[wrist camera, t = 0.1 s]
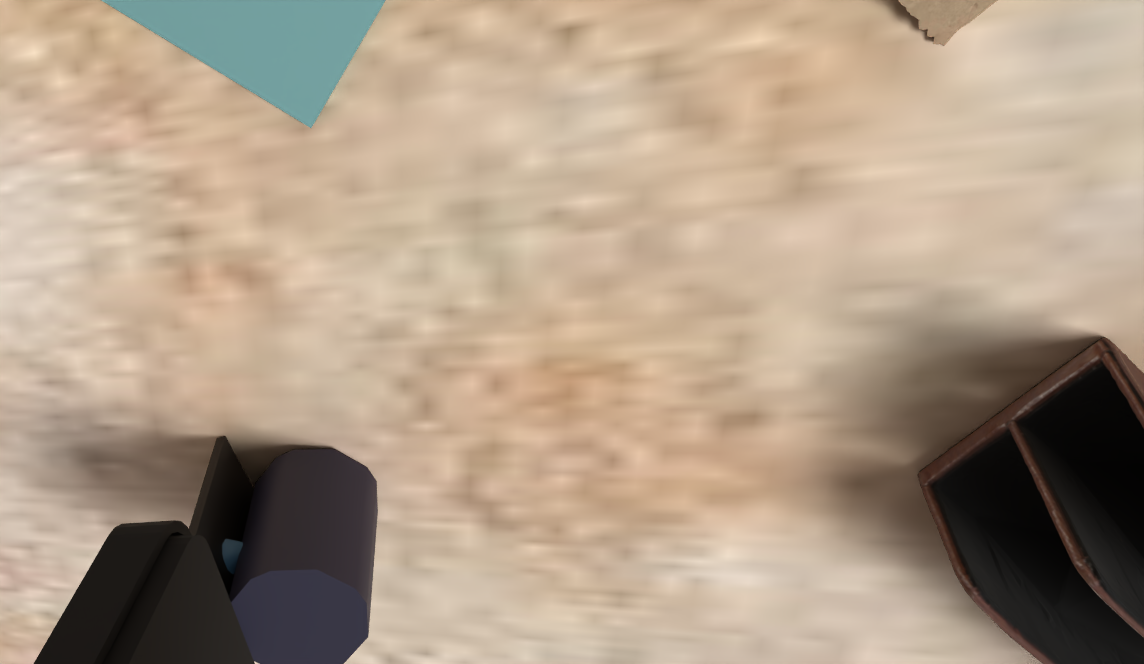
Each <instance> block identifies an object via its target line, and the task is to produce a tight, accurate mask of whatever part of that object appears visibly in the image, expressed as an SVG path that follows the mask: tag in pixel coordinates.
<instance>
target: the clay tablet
mask: <svg viewBox="0 0 1144 664" xmlns="http://www.w3.org/2000/svg"><path fill="white" fill-rule="evenodd" d="M996 1H998V0H899V2H900V3H901V4H902V5H903V6H904V7H906V9H907V11H908V12H909V13H910V15H912V16H914V17H915V18H917V19H918V20H919V22H918V23H919V29H922V30H926V29H928V32H927V36H929V37H934V43H933V44H942V45H943V46H944V45H945V44H946V43H947V42H948V41H949V39H950V38H951V37H952V36H953V35H954V34H955V33H956V32H957V31H958V30H959V29H960V28H961V27H963V26H965V25H966V24H968V23H969V22H971V21H972V20H973V19H975V18H976V17H977V16H978V15H980V14H981V13H982V12H983V11H985V10H986V9H987V8H988V7H989V6H991V5H992V4H993V3H995V2H996Z"/></svg>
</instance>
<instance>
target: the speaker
mask: <svg viewBox="0 0 1144 664" xmlns="http://www.w3.org/2000/svg"><path fill="white" fill-rule="evenodd" d="M377 513H378V509H377V482H376V480H375V478H374V477H373V475H372V474H371V472H370V471H369V470H368V468H367V467H366V466H364V465H362V464H360V463H358V462H357V461H355V460H353V459H351V458H349V457H348V456H346V455H344V454H342V453H340V452H339V451H337V450H335V449H302V450H292V451H290V452H287V453H285V454H283V455H281V456H278V457H276V458H275V460H274V461H273V462H272V463H271V465H270V466H269V467H268V468H267V470H266V471H265V472H264V473H263V475H262V476H261V477H260V478H259V480H258V481H257V482H256V483H255V487H254V488H253V487H252V485H251V483H250V481H249V479H248V477H247V475H246V474H245V472H244V470H243V468H242V466H241V464H240V463H239V461H238V459H237V457H236V455H235V453H234V451H233V450H232V448H231V446H230V444H229V442H228V440H227V438H226V437H225V436H223V437H220V438H217V439H216V443H215V446H214V449H213V452H212V456H211V459H210V462H209V465H208V469H207V472H206V475H205V478H204V482H203V485H202V488H201V491H200V495H199V498H198V501H197V504H196V507H195V511H194V514H193V517H192V520H191V524H190V527H189V531H190V533H191V535H202V536H203V537H204V538H205V539H206V541H207V543H208V545H209V547H210V550H211V552H212V555H213V557H214V560H215V563H216V565H217V568H218V570H219V573H220V575H221V578H222V581H223V583H224V586H225V588H226V591H227V594H228V596H229V599H230V601H231V604H232V606H233V609H234V612H235V614H236V617H237V619H238V622H239V624H240V627H241V630H242V632H243V635H244V637H245V640H246V642H247V645H248V648H249V650H250V653H251V655H252V658H253V660H254V661H255V662H257V663H260V664H344V663H345V662H346V661H347V659H348V658H349V657H350V656H351V655H352V654H353V653H354V652H355V651H356V650H357V648H358V647H359V646H360V645H361V644H362V643H363V642H364V641H365V640H366V639H367V638H368V634H369V620H370V607H371V594H372V580H373V567H374V554H375V540H376V527H377Z"/></svg>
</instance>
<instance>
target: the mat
mask: <svg viewBox="0 0 1144 664" xmlns="http://www.w3.org/2000/svg"><path fill="white" fill-rule="evenodd" d="M102 1H103V2H105V3H107V4H108V5H110V6H112V7H113V8H115V9H116V10H118V11H120V12H121V13H123V14H125V15H126V16H128V17H130V18H131V19H133V20H135V21H136V22H138V23H139V24H141V25H143V26H144V27H146V28H148V29H149V30H151V31H153V32H154V33H156V34H157V35H159V36H161V37H162V38H164V39H166V40H167V41H169V42H171V43H172V44H174V45H176V46H177V47H179V48H180V49H182V50H184V51H185V52H187V53H189V54H190V55H192V56H194V57H195V58H197V59H199V60H200V61H202V62H203V63H205V64H207V65H208V66H210V67H212V68H213V69H215V70H217V71H218V72H220V73H221V74H223V75H225V76H226V77H228V78H230V79H231V80H233V81H235V82H236V83H238V84H240V85H241V86H243V87H244V88H246V89H248V90H249V91H251V92H253V93H254V94H256V95H258V96H259V97H261V98H263V99H264V100H266V101H267V102H269V103H271V104H272V105H274V106H276V107H277V108H279V109H281V110H282V111H284V112H285V113H287V114H289V115H290V116H292V117H294V118H295V119H297V120H299V121H300V122H302V123H304V124H305V125H307V126H308V127H310V128H311V127H312V126H313V124H314V123H315V121H316V119H317V117H318V116H319V114H320V112H321V111H322V109H323V107H324V105H325V104H326V102H327V100H328V99H329V97H330V95H331V93H332V92H333V90H334V88H335V86H336V85H337V83H338V81H339V80H340V78H341V76H342V74H343V73H344V71H345V69H346V68H347V66H348V64H349V62H350V61H351V59H352V57H353V55H354V54H355V52H356V50H357V49H358V47H359V45H360V43H361V42H362V40H363V38H364V37H365V35H366V33H367V31H368V30H369V28H370V26H371V25H372V23H373V21H374V19H375V18H376V16H377V14H378V12H379V11H380V9H381V7H382V6H383V4H384V2H385V0H102Z"/></svg>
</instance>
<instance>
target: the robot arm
mask: <svg viewBox="0 0 1144 664" xmlns="http://www.w3.org/2000/svg"><path fill="white" fill-rule="evenodd" d="M34 664H255V663H254V660H253V658H252V655H251V653H250V650H249V648H248V645H247V642H246V640H245V637H244V635H243V632H242V630H241V627H240V624H239V622H238V619H237V617H236V614H235V612H234V609H233V606H232V604H231V601H230V599H229V596H228V594H227V591H226V588H225V586H224V583H223V581H222V578H221V575H220V573H219V570H218V568H217V565H216V563H215V560H214V557H213V555H212V552H211V550H210V547H209V545H208V543H207V541H206V539H205V538H204V537H203V536H202V535H191V533H190V531H189V529H188V527H187V526H186V525H185V524H184V523H182V522H181V521H160V522H144V523H127V524H121V525H119V526H117V527H115V528H114V529H113V531H112V532H111V533H110V534H109V536H108V537H107V539H106V541H105V542H104V544H103V546H102V548H101V549H100V551H99V553H98V554H97V556H96V558H95V560H94V561H93V563H92V565H91V566H90V568H89V570H88V572H87V573H86V575H85V577H84V578H83V580H82V582H81V584H80V585H79V587H78V589H77V590H76V592H75V594H74V596H73V597H72V599H71V601H70V602H69V604H68V606H67V608H66V609H65V611H64V613H63V614H62V616H61V618H60V619H59V621H58V623H57V625H56V626H55V628H54V630H53V631H52V633H51V635H50V637H49V638H48V640H47V642H46V643H45V645H44V647H43V649H42V650H41V652H40V654H39V655H38V657H37V659H36V661H35V662H34Z"/></svg>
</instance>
